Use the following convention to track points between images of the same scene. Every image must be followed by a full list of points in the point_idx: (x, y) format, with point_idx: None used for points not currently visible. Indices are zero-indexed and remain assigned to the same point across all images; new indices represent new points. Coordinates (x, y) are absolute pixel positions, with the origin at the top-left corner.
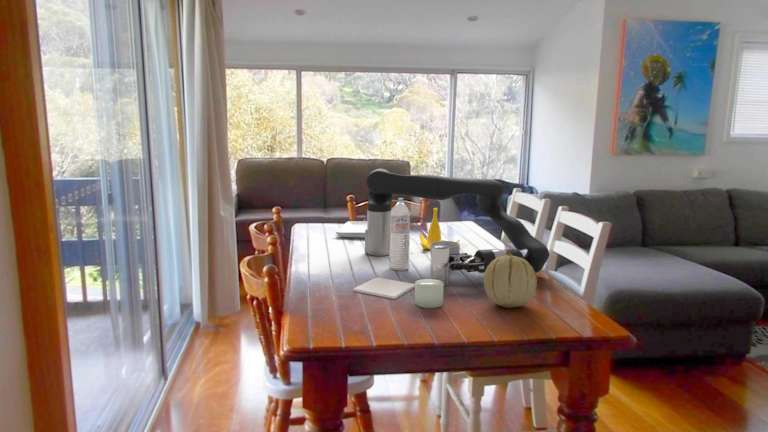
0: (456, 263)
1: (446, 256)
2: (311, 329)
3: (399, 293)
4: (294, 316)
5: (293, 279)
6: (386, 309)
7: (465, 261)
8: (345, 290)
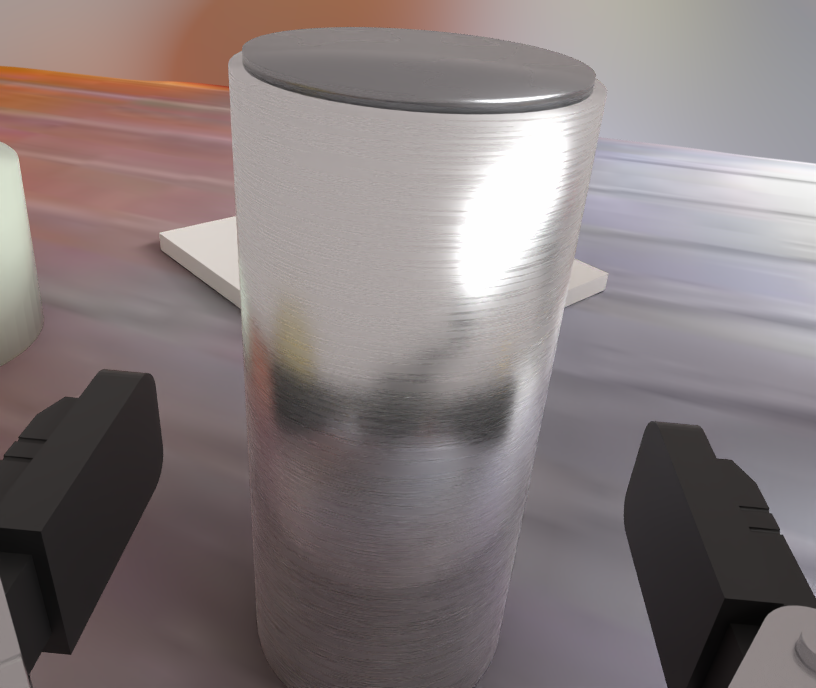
0: (60, 422)
1: (240, 234)
2: (55, 89)
3: (196, 258)
4: (196, 92)
5: (624, 141)
6: (41, 200)
7: (20, 653)
8: None
